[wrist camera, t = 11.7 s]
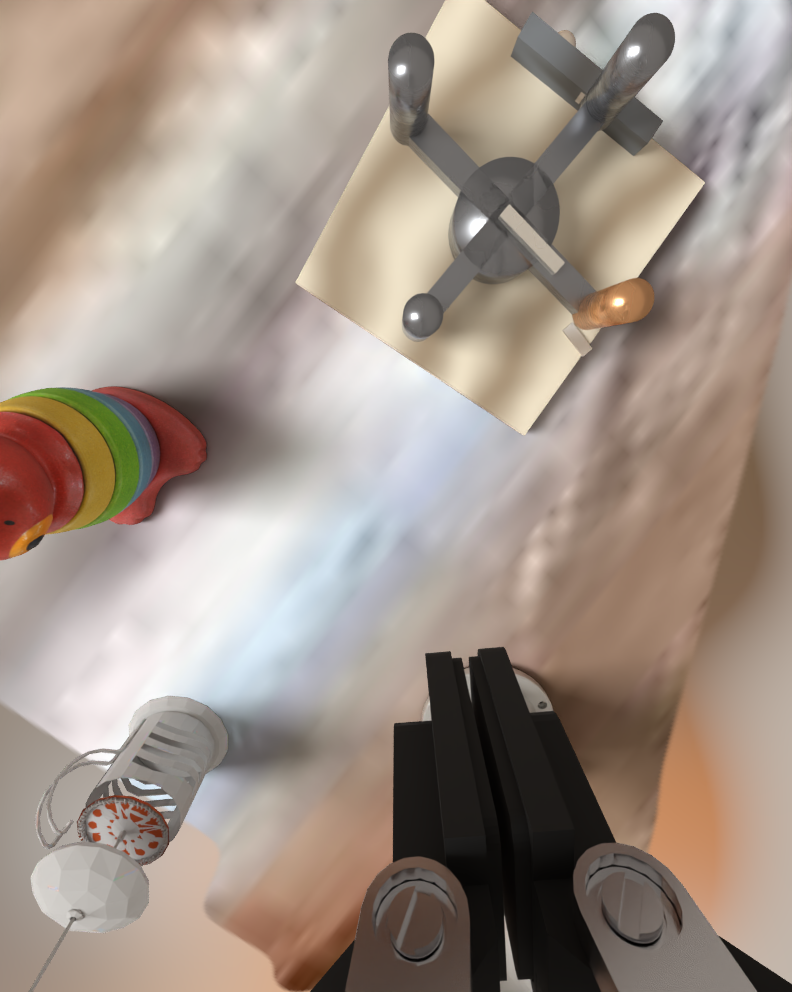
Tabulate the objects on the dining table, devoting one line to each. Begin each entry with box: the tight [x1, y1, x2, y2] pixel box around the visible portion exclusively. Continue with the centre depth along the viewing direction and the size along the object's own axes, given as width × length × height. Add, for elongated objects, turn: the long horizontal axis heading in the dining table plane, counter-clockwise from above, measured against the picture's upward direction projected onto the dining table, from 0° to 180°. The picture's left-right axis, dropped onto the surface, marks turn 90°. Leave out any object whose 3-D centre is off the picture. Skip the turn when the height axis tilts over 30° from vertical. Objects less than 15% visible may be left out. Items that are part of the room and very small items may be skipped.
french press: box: [29, 696, 228, 992], centre depth 33 cm, size 10×12×25 cm
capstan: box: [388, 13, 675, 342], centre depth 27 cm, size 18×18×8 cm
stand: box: [295, 0, 705, 436], centre depth 32 cm, size 20×21×4 cm
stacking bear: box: [0, 387, 207, 560], centre depth 29 cm, size 11×10×18 cm
